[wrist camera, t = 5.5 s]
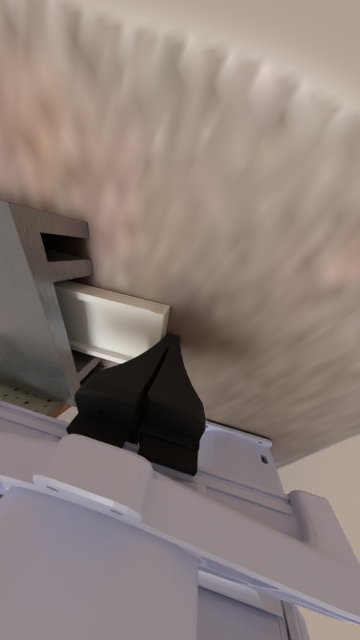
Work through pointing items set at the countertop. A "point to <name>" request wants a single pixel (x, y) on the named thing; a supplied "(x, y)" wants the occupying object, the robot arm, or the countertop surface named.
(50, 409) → the food container
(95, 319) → the tray
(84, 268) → the shelf
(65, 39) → the countertop surface
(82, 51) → the countertop surface
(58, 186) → the countertop surface
